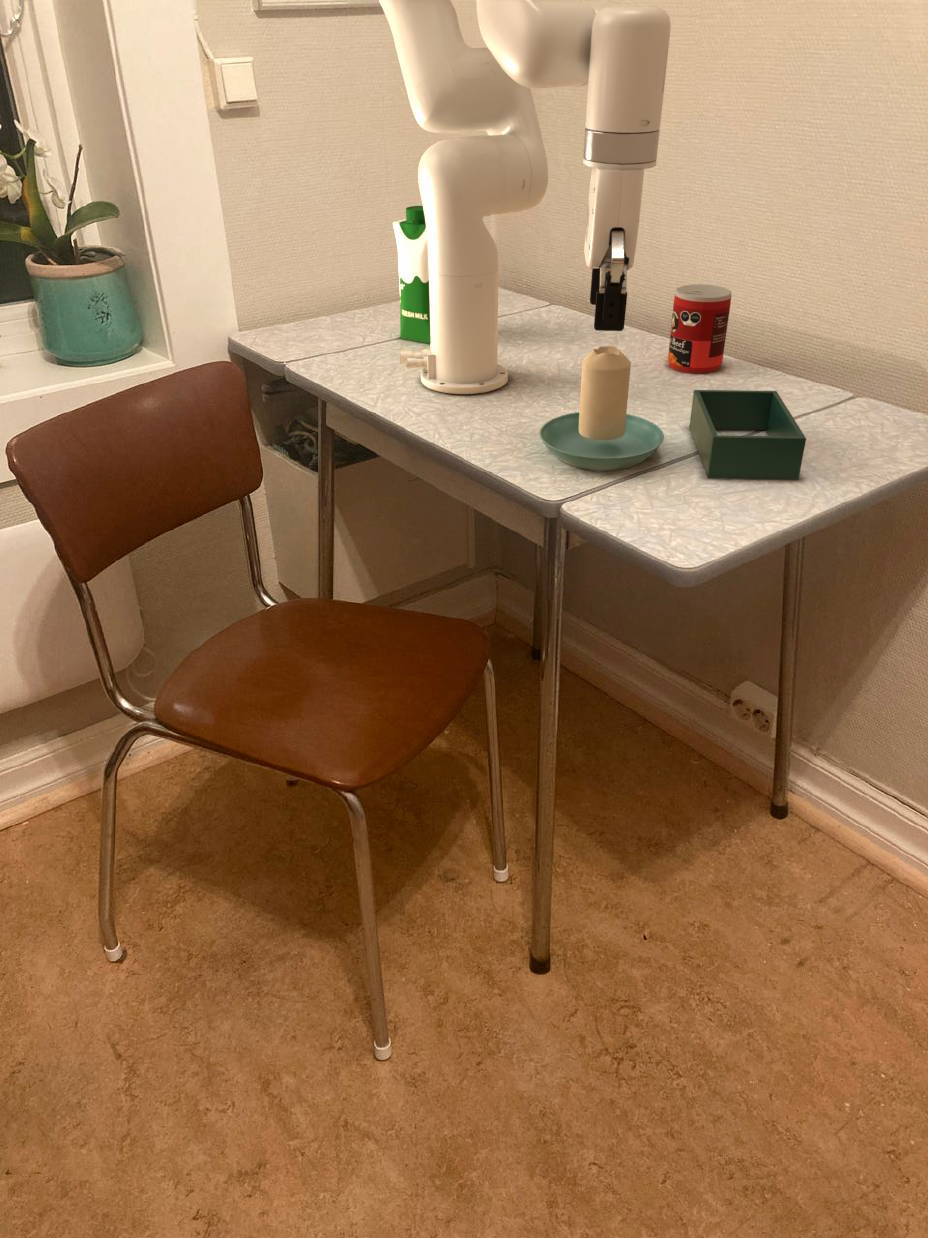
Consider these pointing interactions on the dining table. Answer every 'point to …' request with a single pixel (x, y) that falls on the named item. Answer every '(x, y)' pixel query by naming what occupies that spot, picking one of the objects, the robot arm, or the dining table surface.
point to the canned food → (699, 328)
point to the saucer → (601, 443)
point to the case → (746, 453)
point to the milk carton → (413, 275)
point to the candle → (604, 394)
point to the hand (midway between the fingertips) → (605, 316)
